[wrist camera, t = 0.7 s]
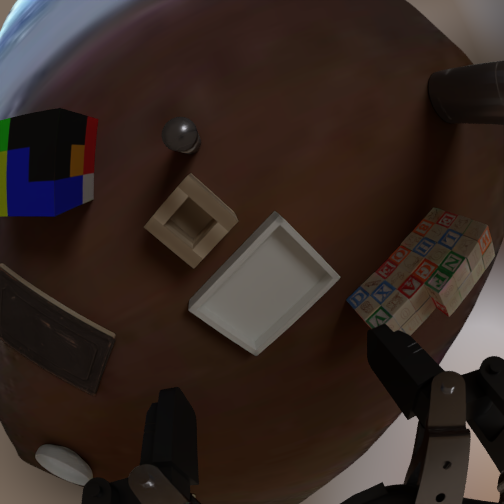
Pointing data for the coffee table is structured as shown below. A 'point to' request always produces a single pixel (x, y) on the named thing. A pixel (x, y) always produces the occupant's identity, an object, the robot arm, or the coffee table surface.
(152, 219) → the maple bore block
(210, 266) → the coffee table surface
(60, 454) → the cereal bowl
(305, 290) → the tray
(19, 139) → the puzzle toy
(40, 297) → the hardcover book
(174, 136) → the cylinder
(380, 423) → the coffee table surface
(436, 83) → the robot arm
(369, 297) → the stack of blocks
